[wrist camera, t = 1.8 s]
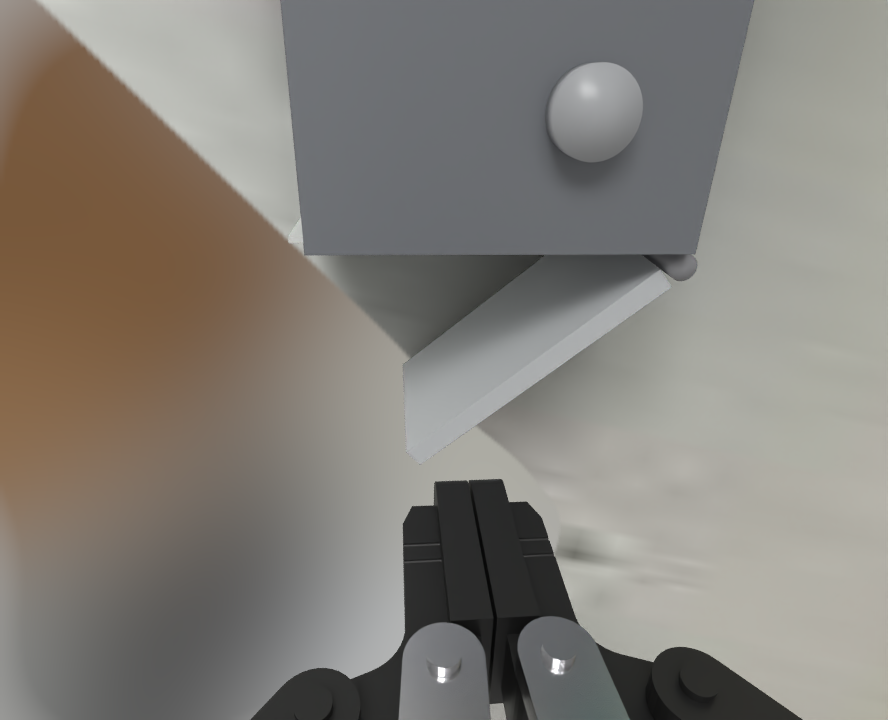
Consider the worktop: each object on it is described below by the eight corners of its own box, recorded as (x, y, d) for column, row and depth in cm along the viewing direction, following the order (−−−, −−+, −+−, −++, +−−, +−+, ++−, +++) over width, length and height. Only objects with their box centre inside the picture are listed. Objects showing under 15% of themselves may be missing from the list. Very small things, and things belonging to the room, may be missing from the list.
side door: (402, 362, 27) (405, 452, 21) (611, 201, 24) (689, 248, 18) (421, 382, 28) (430, 475, 21) (627, 227, 25) (709, 281, 19)
